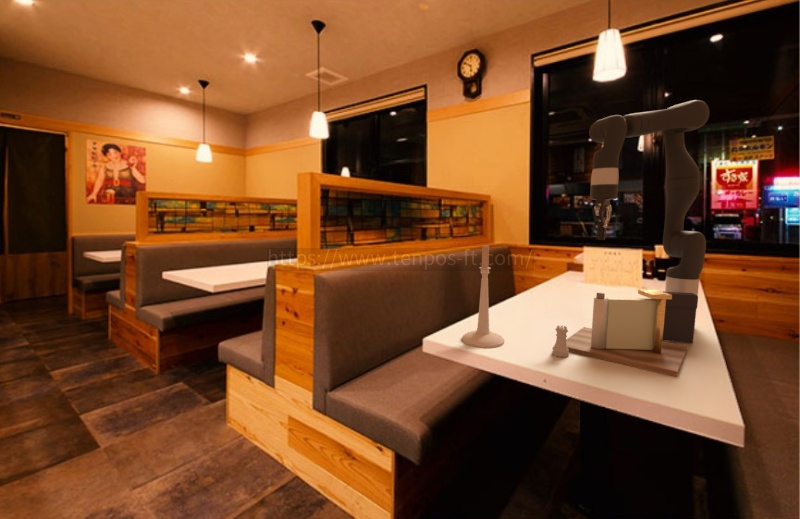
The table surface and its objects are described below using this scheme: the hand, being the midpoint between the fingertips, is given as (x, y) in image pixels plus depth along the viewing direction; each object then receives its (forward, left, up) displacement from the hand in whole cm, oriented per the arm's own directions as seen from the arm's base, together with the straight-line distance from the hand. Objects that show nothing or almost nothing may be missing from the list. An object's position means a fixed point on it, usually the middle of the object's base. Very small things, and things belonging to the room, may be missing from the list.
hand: (600, 239), depth 120 cm
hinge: (+13, +11, -29) cm, 34 cm away
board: (+10, +10, -31) cm, 34 cm away
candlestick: (+30, -24, -31) cm, 50 cm away
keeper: (+8, +16, -31) cm, 36 cm away
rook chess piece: (+26, -2, -31) cm, 41 cm away
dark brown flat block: (-10, +19, -31) cm, 38 cm away
